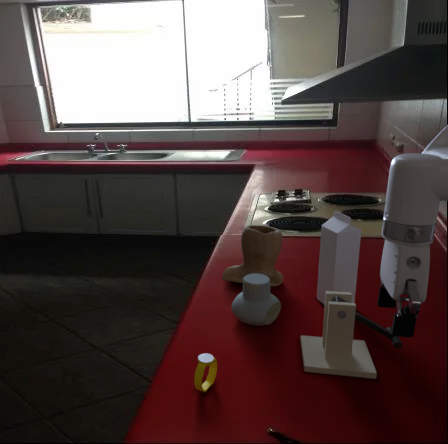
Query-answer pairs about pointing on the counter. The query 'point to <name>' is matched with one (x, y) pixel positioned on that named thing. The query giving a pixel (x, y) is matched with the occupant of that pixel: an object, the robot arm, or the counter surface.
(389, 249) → the robot arm
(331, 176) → the counter surface
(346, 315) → the cream lever stand
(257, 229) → the tan boot
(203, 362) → the watch
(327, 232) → the milk
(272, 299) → the air freshener
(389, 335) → the lever
